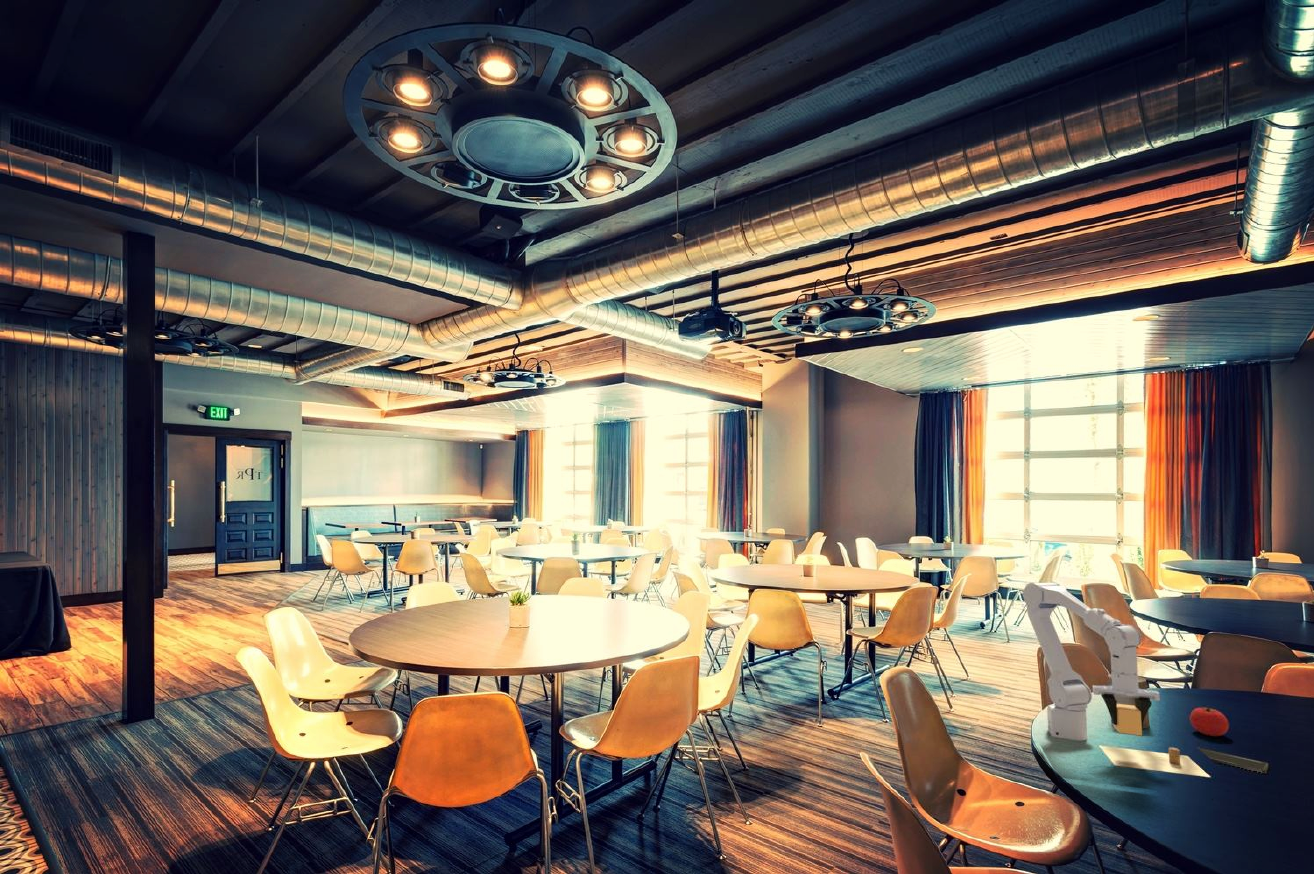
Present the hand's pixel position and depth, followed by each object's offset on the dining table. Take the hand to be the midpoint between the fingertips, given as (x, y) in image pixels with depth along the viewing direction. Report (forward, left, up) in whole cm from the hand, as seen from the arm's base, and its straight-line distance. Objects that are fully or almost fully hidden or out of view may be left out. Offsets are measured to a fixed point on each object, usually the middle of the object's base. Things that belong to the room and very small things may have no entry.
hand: (1127, 725), depth 173 cm
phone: (+25, +10, -10) cm, 29 cm away
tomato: (+29, +32, -10) cm, 44 cm away
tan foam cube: (0, 0, -1) cm, 1 cm away
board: (+5, 0, -9) cm, 10 cm away
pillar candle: (+10, +35, -10) cm, 38 cm away
